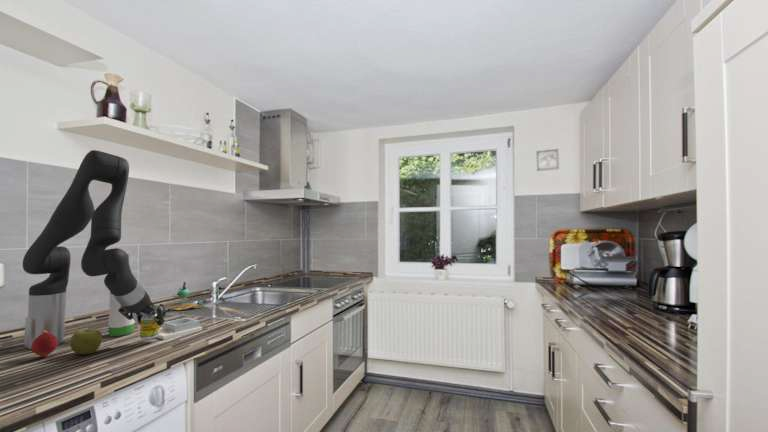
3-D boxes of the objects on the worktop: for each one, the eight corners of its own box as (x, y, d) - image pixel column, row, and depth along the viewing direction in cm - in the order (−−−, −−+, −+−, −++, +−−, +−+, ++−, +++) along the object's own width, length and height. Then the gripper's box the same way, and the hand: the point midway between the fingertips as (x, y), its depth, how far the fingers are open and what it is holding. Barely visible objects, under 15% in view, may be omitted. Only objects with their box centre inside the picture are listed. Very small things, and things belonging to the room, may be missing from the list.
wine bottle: (137, 333, 130) (140, 253, 131) (112, 338, 123) (116, 255, 125) (129, 329, 134) (132, 253, 135) (104, 334, 128) (108, 254, 129)
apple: (94, 347, 113) (95, 326, 113) (106, 351, 109) (107, 329, 110) (65, 355, 106) (66, 331, 107) (77, 359, 103) (78, 335, 103)
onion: (55, 352, 109) (56, 326, 109) (59, 356, 105) (60, 330, 106) (29, 357, 104) (30, 330, 105) (32, 361, 101) (33, 334, 101)
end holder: (160, 340, 121) (161, 329, 121) (144, 335, 127) (145, 325, 127) (202, 330, 134) (202, 320, 134) (185, 325, 140) (186, 316, 140)
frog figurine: (200, 310, 167) (197, 280, 168) (161, 316, 165) (158, 285, 166) (208, 306, 177) (205, 278, 177) (171, 311, 175) (168, 282, 175)
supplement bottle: (158, 334, 122) (159, 307, 123) (158, 338, 118) (159, 309, 118) (140, 336, 120) (141, 308, 120) (139, 340, 115) (140, 311, 116)
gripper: (159, 286, 113) (178, 314, 124) (114, 285, 112) (137, 314, 123) (148, 305, 107) (169, 333, 118) (101, 305, 106) (126, 333, 118)
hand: (152, 323), depth 121 cm, fingers closed on supplement bottle, 5 cm apart
